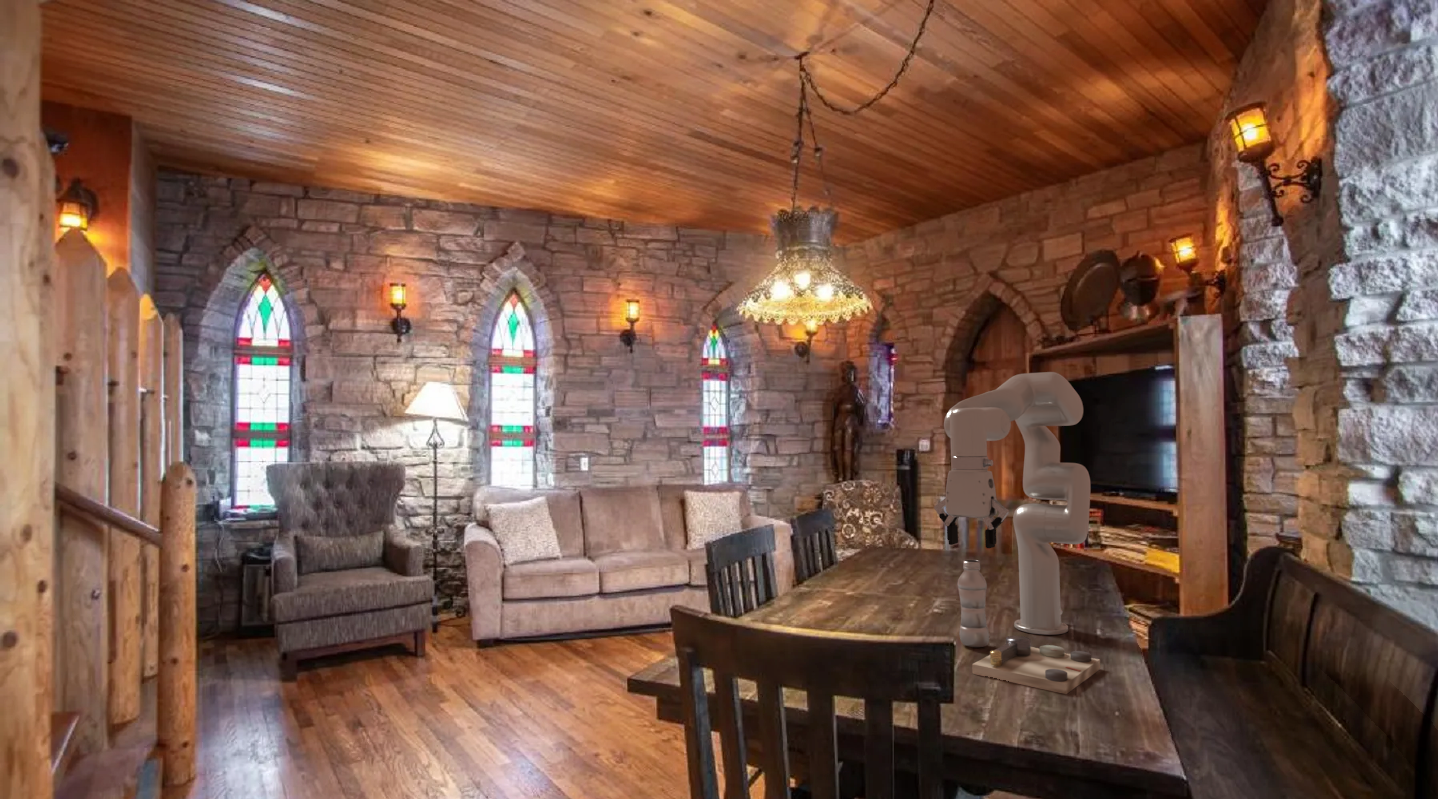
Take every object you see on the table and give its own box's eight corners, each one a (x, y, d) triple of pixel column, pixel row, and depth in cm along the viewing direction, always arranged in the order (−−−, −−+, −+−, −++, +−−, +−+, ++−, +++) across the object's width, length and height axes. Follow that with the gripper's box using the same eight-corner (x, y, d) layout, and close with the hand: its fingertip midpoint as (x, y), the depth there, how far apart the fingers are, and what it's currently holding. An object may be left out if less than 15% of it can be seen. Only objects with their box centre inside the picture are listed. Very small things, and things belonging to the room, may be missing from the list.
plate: (1011, 652, 175) (1011, 637, 175) (1100, 669, 162) (1099, 653, 162) (972, 673, 161) (972, 657, 161) (1066, 694, 148) (1065, 676, 148)
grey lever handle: (1011, 647, 171) (1011, 634, 171) (1034, 652, 167) (1034, 638, 167) (982, 664, 160) (981, 649, 160) (1005, 668, 156) (1005, 654, 156)
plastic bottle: (991, 650, 176) (988, 563, 177) (960, 649, 178) (958, 563, 179) (987, 643, 183) (984, 558, 183) (958, 642, 184) (955, 558, 185)
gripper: (1015, 464, 163) (1018, 547, 163) (940, 463, 175) (942, 540, 175) (1000, 466, 158) (1003, 552, 157) (924, 464, 170) (926, 544, 169)
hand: (971, 545), depth 166 cm, fingers open, 7 cm apart
